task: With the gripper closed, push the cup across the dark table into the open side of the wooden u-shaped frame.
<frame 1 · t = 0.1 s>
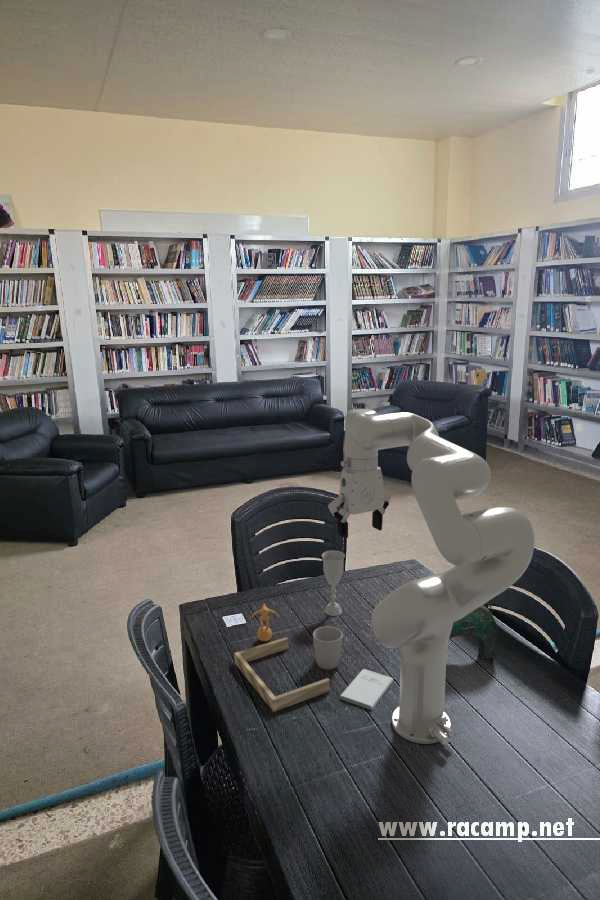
hand: (360, 532, 147), 37 cm above the table, tool pointing down, fingers open, 9 cm apart
wooden u-shaped frame: (282, 676, 154), on the table
chalice: (333, 612, 185), on the table
external hard drive: (367, 692, 148), on the table
figurine: (265, 643, 169), on the table
cup: (327, 661, 160), on the table
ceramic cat: (456, 657, 161), on the table
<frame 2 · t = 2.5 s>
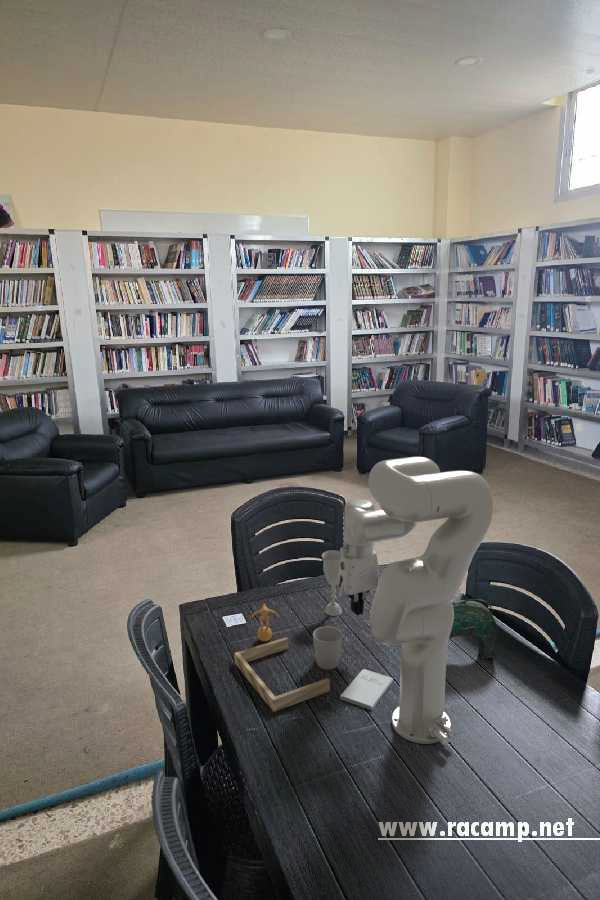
hand: (357, 612, 162), 11 cm above the table, tool pointing down, fingers closed
nothing on the table moved.
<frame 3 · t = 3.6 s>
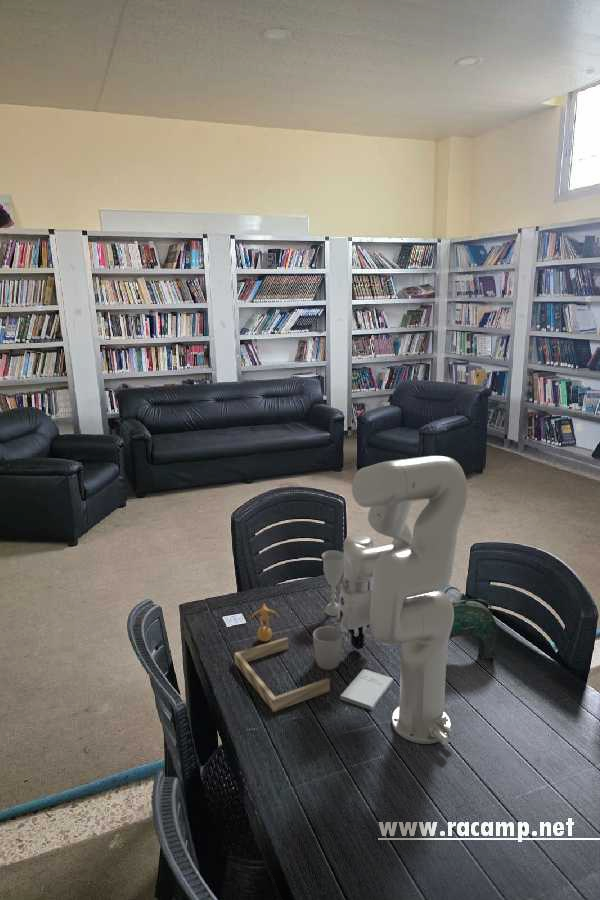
hand: (357, 646, 164), 1 cm above the table, tool pointing down, fingers closed
nothing on the table moved.
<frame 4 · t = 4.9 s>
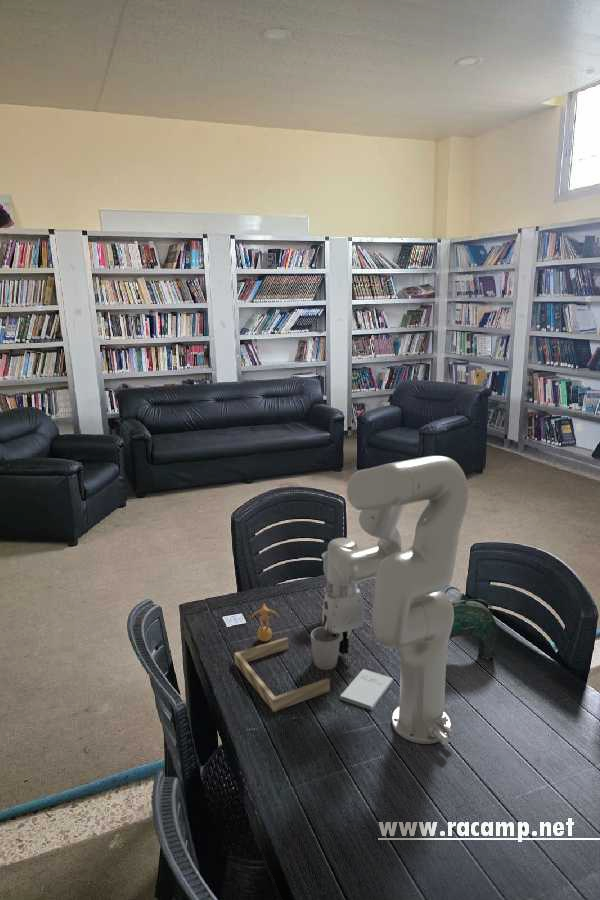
hand: (342, 651, 162), 1 cm above the table, tool pointing down, fingers closed
cup: (325, 662, 159), on the table, touching gripper
everything else where it was.
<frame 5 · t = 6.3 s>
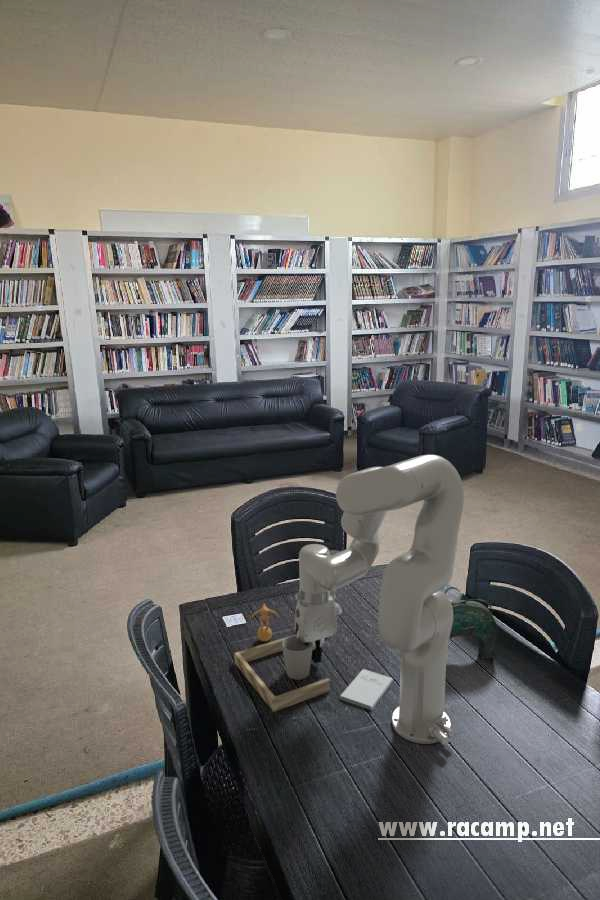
hand: (315, 659, 158), 1 cm above the table, tool pointing down, fingers closed
cup: (297, 671, 156), on the table, touching gripper
everything else where it was.
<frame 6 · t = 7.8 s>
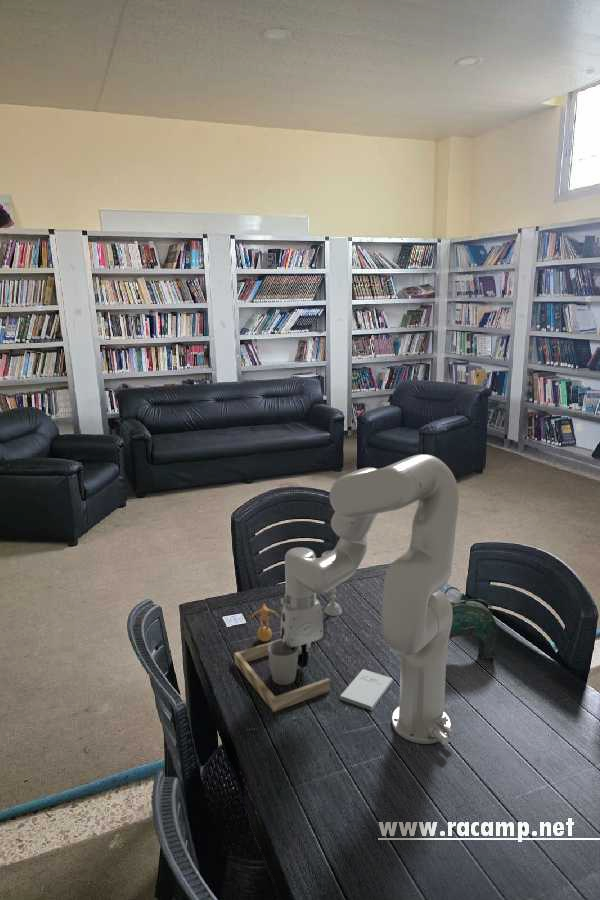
hand: (301, 664, 156), 1 cm above the table, tool pointing down, fingers closed
cup: (283, 676, 154), on the table, touching gripper
everything else where it was.
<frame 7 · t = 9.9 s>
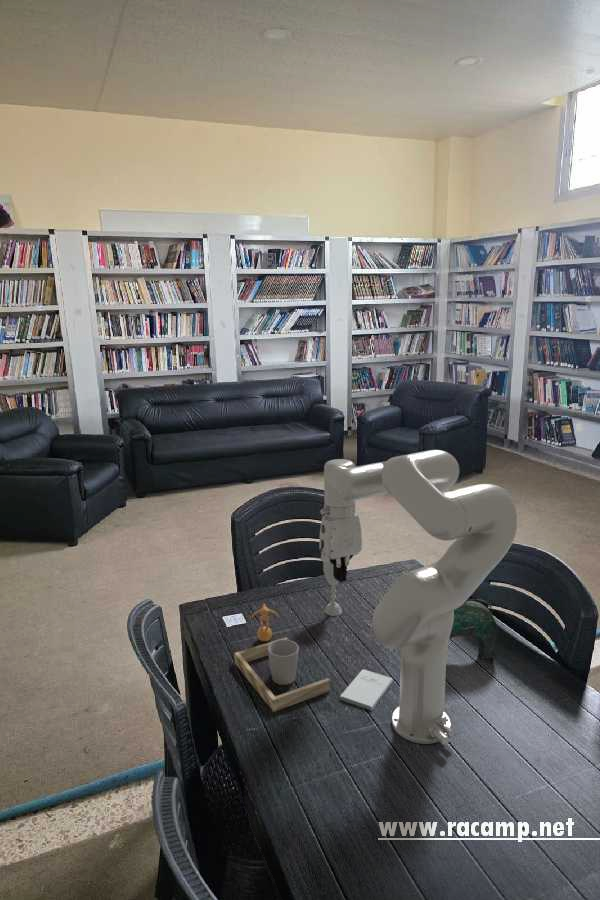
hand: (340, 579, 155), 22 cm above the table, tool pointing down, fingers closed
cup: (283, 676, 154), on the table
everything else where it was.
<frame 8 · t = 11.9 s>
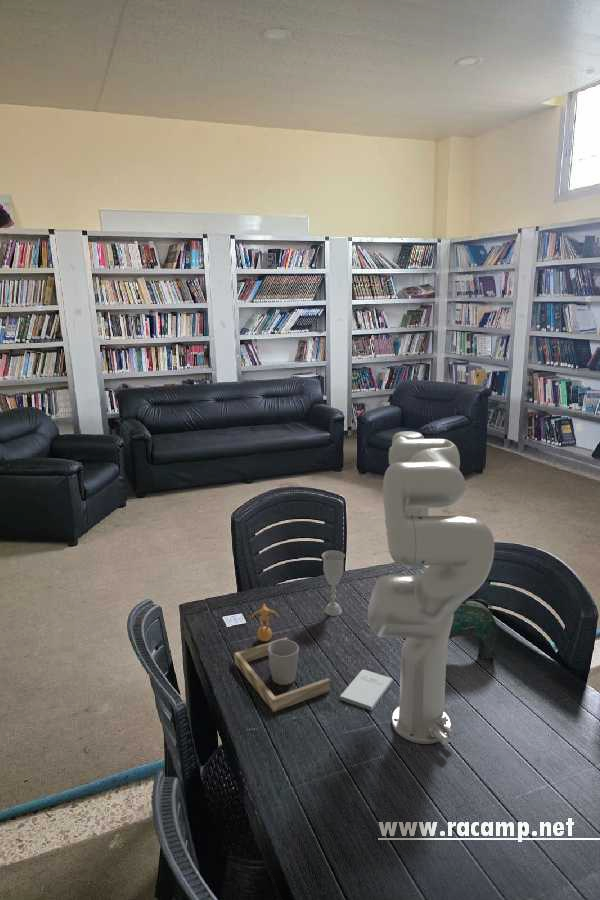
hand: (404, 554, 153), 29 cm above the table, tool pointing down, fingers closed
nothing on the table moved.
at the end: cup inside the target area (1.4 cm from its centre), on the table; cup tilted 0°; cup moved 12.6 cm from its start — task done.
